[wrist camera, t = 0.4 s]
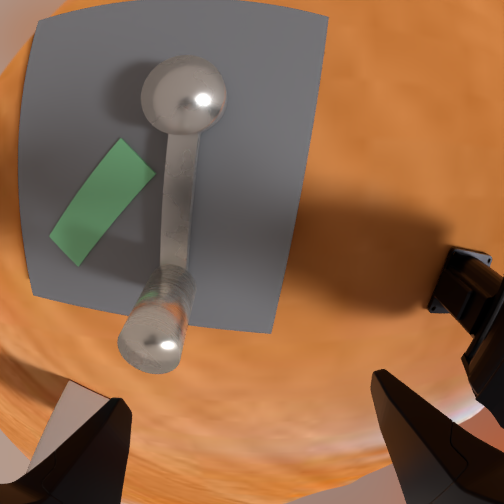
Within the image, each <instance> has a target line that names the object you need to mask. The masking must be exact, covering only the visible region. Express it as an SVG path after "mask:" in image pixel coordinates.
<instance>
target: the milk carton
mask: <svg viewBox="0 0 504 504" xmlns="http://www.w3.org/2000/svg"><path fill="white" fill-rule="evenodd" d="M109 400H110V399H108V398H106V397H103V396H101V395H99V394H97V393H95V392H93V391H90V390H88V389H86V388H84V387H82V386H80V385H78V384H76V383H74V382H72V381H70V380H69V381H68V383H67V385H66V387H65V389H64V391H63V393H62V395H61V397H60V399H59V401H58V403H57V405H56V407H55V409H54V411H53V413H52V415H51V417H50V419H49V421H48V423H47V425H46V427H45V430H44V432H43V434H42V436H41V439H40V441H39V443H38V445H37V448H36V450H35V452H34V455H33V457H32V460H31V462H30V465H29V467H28V469H27V472H29V471H30V470H32V469H33V468H34V467H36V466H37V465H38V464H40V463H41V462H42V461H43V460H44V459H46V458H47V457H48V456H49V455H50V454H51V453H52V452H53V451H56V449H57V448H58V447H59V446H60V445H61V444H62V443H63V442H64V441H65V440H67V439H68V438H69V437H70V436H71V435H72V434H73V433H74V432H75V431H76V430H77V429H79V428H80V427H81V426H82V425H83V424H84V423H85V422H86V421H87V420H88V419H89V418H90V417H91V416H93V415H94V414H95V413H96V412H97V411H98V410H99V409H100V408H101V407H102V406H103V405H104V404H105V403H107V402H108V401H109ZM27 472H26V473H27Z"/></svg>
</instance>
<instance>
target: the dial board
mask: <svg viewBox="0 0 504 504" xmlns="http://www.w3.org/2000/svg"><path fill="white" fill-rule="evenodd" d="M328 18H329V17H327V16H323V15H319V14H315V13H311V12H307V11H302V10H298V9H293V8H288V7H283V6H277V5H271V4H264V3H257V2H249V1H240V0H137V1H128V2H120V3H113V4H106V5H101V6H95V7H90V8H85V9H80V10H76V11H72V12H68V13H64V14H60V15H56V16H53V17H49V18H46V19H43V20H40V21H39V22H38V25H37V28H36V32H35V35H34V39H33V43H32V47H31V52H30V56H29V61H28V66H27V71H26V77H25V83H24V89H23V96H22V104H21V114H20V125H19V143H18V188H19V205H20V217H21V227H22V236H23V243H24V250H25V256H26V262H27V268H28V273H29V278H30V283H31V288H32V292H33V295H34V296H38V297H42V298H46V299H50V300H54V301H59V302H63V303H67V304H72V305H76V306H81V307H85V308H90V309H95V310H100V311H105V312H110V313H116V314H121V315H127V316H129V315H130V313H131V311H132V309H133V307H134V305H135V304H136V302H137V300H138V298H139V296H140V294H141V292H142V291H143V289H144V287H145V285H146V283H147V281H148V280H149V278H150V276H151V274H152V273H153V271H154V270H155V269H156V268H158V267H160V244H161V219H162V201H163V186H164V174H165V162H166V152H167V143H168V133H165V132H162V131H160V130H158V129H157V128H155V127H154V126H153V125H152V124H151V123H150V122H149V121H148V120H147V118H146V116H145V115H144V112H143V109H142V105H141V92H142V87H143V84H144V82H145V80H146V78H147V77H148V75H149V74H150V72H151V71H152V70H153V69H154V68H155V67H156V66H157V65H159V64H160V63H161V62H163V61H165V60H167V59H169V58H172V57H175V56H180V55H193V56H198V57H201V58H204V59H205V60H207V61H209V62H210V63H212V64H213V65H214V66H215V67H216V68H217V69H218V71H219V72H220V74H221V76H222V78H223V81H224V84H225V87H226V90H227V98H228V99H227V106H226V110H225V112H224V114H223V116H222V117H221V119H220V120H219V121H218V122H217V124H215V125H214V126H213V127H212V128H210V129H208V130H206V131H204V132H202V133H201V137H200V144H199V153H198V161H197V170H196V179H195V189H194V199H193V210H192V221H191V234H190V247H189V263H188V272H189V273H190V274H191V275H192V277H193V278H194V280H195V283H196V294H195V298H194V302H193V306H192V310H191V314H190V319H189V323H188V325H191V326H199V327H207V328H216V329H225V330H235V331H245V332H256V333H268V334H271V332H272V327H273V323H274V319H275V314H276V310H277V306H278V301H279V297H280V292H281V288H282V283H283V279H284V274H285V269H286V265H287V260H288V255H289V251H290V246H291V241H292V236H293V231H294V226H295V221H296V216H297V211H298V206H299V201H300V195H301V190H302V185H303V179H304V174H305V169H306V163H307V157H308V152H309V146H310V140H311V134H312V128H313V122H314V116H315V110H316V104H317V97H318V91H319V84H320V78H321V71H322V64H323V57H324V49H325V42H326V34H327V26H328Z"/></svg>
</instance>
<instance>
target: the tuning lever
mask: <svg viewBox="0 0 504 504" xmlns="http://www.w3.org/2000/svg"><path fill="white" fill-rule="evenodd" d="M227 99H228V98H227V90H226V87H225V84H224V81H223V78H222V76H221V74H220V72H219V71H218V69H217V68H216V67H215V66H214V65H213V64H212V63H210V62H209V61H207V60H205V59H204V58H201V57H198V56H193V55H180V56H175V57H172V58H169V59H167V60H165V61H163V62H161V63H160V64H159V65H157V66H156V67H155V68H154V69H153V70H152V71H151V72H150V74H149V75H148V77H147V78H146V80H145V82H144V84H143V87H142V92H141V105H142V109H143V112H144V115H145V116H146V118H147V120H148V121H149V122H150V123H151V124H152V125H153V126H154V127H155V128H157V129H158V130H160V131H162V132H165V133H168V143H167V152H166V162H165V174H164V186H163V201H162V219H161V244H160V267H158V268H156V269H155V270H154V271H153V273H152V274H151V276H150V278H149V280H148V281H147V283H146V285H145V287H144V289H143V291H142V292H141V294H140V296H139V298H138V300H137V302H136V304H135V305H134V307H133V309H132V311H131V313H130V315H129V317H128V319H127V321H126V323H125V325H124V327H123V329H122V331H121V333H120V335H119V337H118V342H117V343H118V349H119V351H120V353H121V355H122V356H123V358H124V359H125V360H126V361H127V362H128V363H129V364H131V365H132V366H133V367H135V368H137V369H139V370H141V371H144V372H147V373H152V374H163V373H167V372H170V371H172V370H174V369H175V368H176V367H177V366H178V364H179V362H180V358H181V354H182V349H183V345H184V340H185V336H186V331H187V327H188V323H189V319H190V314H191V310H192V306H193V302H194V298H195V294H196V283H195V280H194V278H193V277H192V275H191V274H190V273H189V272H188V263H189V247H190V234H191V221H192V210H193V199H194V189H195V179H196V170H197V161H198V153H199V144H200V137H201V133H202V132H204V131H206V130H208V129H210V128H212V127H213V126H214V125H215V124H217V122H218V121H219V120H220V119H221V117H222V116H223V114H224V112H225V110H226V106H227Z"/></svg>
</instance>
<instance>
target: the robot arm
mask: <svg viewBox="0 0 504 504" xmlns="http://www.w3.org/2000/svg"><path fill="white" fill-rule="evenodd" d="M454 252H455V253H454ZM491 262H492V257H491V256H490V255H488V254H484V253H479V252H475V251H470V250H465V249H461V248H456V247H453V248H451V249H450V251H449V254H448V256H447V259H446V262H445V265H444V267H443V270H442V273H441V275H440V278H439V281H438V283H437V286H436V288H435V290H434V293H433V295H432V298H431V300H430V302H429V305H428V307H427V310H428V311H429V312H430V313H450V314H451V315H452V316H453V317H454V318H455V319H456V320H457V321H458V322H459V323H460V324H461V325H462V326H463V328H464V329H465V330H466V331H467V332H468V333H469V334H470V335H471V336H472V338H473V340H472V342H471V344H470V346H469V347H468V349H467V351H466V352H465V353H464V354H463V356H462V357H461V360H462V363H463V365H464V368H465V371H466V373H467V376H468V380H469V383H470V385H471V388H472V390H473V393H474V394H475V397H476V400H477V401H478V402H479V403H481V404H482V405H484V406H485V407H486V408H487V409H488V410H489V411H490V412H491V413H492V414H493V416H494V417H495V418H496V420H497V422H498V423H499V425H500V426H501V427H502V428H503V429H504V277H502V276H501V275H499V274H498V273H497V272H495V271H494V270H493V269H491V268H490V264H491ZM432 307H433V308H432ZM371 394H372V398H373V402H374V406H375V410H376V414H377V418H378V422H379V426H380V430H381V433H382V435H383V438H384V441H385V443H386V446H387V449H388V451H389V454H390V457H391V460H392V462H393V465H394V468H395V471H396V473H397V477H398V480H399V482H400V485H401V488H402V491H403V494H404V497H405V500H406V503H407V504H504V453H503V452H502V451H500V450H498V449H496V448H494V447H493V446H491V445H489V444H487V443H485V442H483V441H482V440H480V439H478V438H477V437H475V436H473V435H472V434H470V433H469V432H467V431H466V430H464V429H463V428H462V427H460V426H459V425H458V424H456V423H455V422H452V420H451V419H449V418H448V417H447V416H445V415H444V414H443V413H442V412H440V411H439V410H438V409H436V408H435V407H434V406H432V405H431V404H430V403H428V402H427V401H426V400H424V399H423V398H422V397H421V396H419V395H418V394H417V393H415V392H414V391H413V390H411V389H410V388H409V387H408V386H406V385H405V384H404V383H402V382H401V381H400V380H398V379H397V378H396V377H395V376H393V375H392V374H391V373H389V372H388V371H387V370H385V369H381V370H377V371H374V372H373V374H372V380H371ZM131 423H132V412H131V410H130V408H129V407H128V406H127V404H126V403H125V401H124V400H123V399H122V398H111V399H110V400H109V401H108V402H107V403H105V404H104V405H103V406H102V407H101V408H100V409H99V410H98V411H97V412H96V413H95V414H94V415H93V416H91V417H90V418H89V419H88V420H87V421H86V422H85V423H84V424H83V425H82V426H81V427H80V428H79V429H77V430H76V431H75V432H74V433H73V434H72V435H71V436H70V437H69V438H68V439H67V440H65V441H64V442H63V443H62V444H61V445H60V446H59V447H58V448H57V449H56V451H53V452H52V453H51V454H50V455H49V456H48V457H47V458H46V459H44V460H43V461H42V462H41V463H40V464H38V465H37V466H36V467H34V468H33V469H32V470H30V471H29V472H27V473H26V474H25V475H23V476H22V477H21V478H19V479H18V480H16V481H14V482H12V483H8V484H0V504H120V503H121V496H122V489H123V483H124V477H125V471H126V465H127V459H128V454H129V447H130V435H131Z"/></svg>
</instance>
